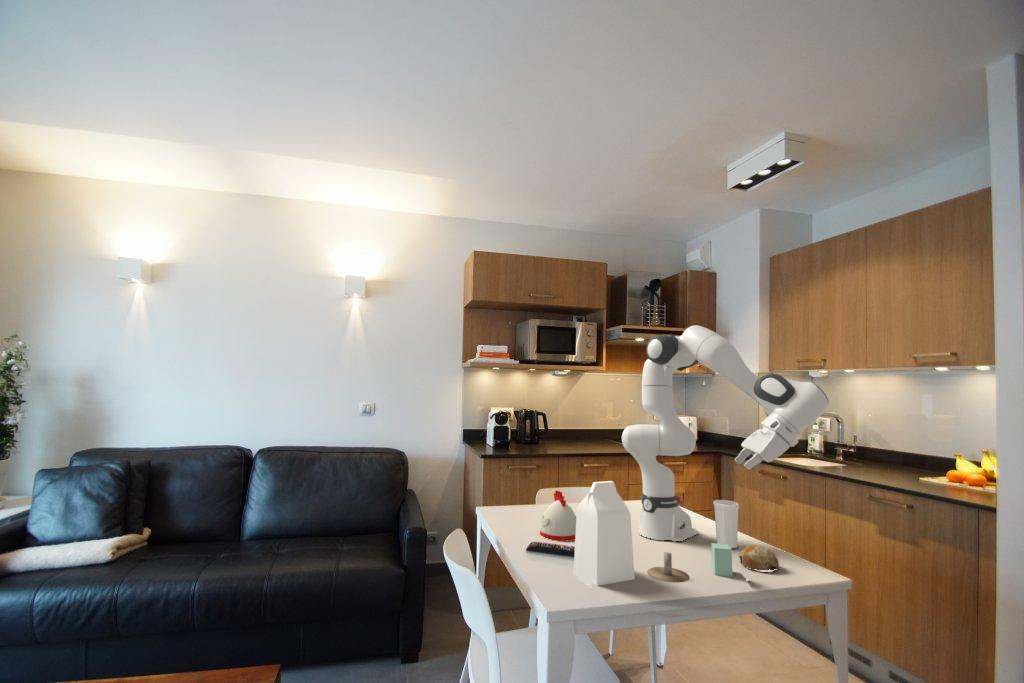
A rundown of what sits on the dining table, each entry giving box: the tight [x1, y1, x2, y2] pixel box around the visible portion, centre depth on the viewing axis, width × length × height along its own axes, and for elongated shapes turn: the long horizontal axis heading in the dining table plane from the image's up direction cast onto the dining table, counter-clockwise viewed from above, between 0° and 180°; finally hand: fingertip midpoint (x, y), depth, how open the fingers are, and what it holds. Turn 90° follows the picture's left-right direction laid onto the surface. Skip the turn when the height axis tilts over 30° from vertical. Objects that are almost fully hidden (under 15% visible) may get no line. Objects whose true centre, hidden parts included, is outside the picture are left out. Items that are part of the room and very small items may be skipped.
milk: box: [573, 480, 636, 589], centre depth 132 cm, size 12×12×26 cm
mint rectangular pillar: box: [710, 542, 733, 578], centre depth 134 cm, size 4×4×8 cm
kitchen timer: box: [539, 490, 577, 542], centre depth 172 cm, size 14×14×15 cm
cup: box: [712, 499, 740, 549], centre depth 162 cm, size 8×8×14 cm
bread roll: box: [737, 544, 780, 570], centre depth 143 cm, size 10×10×8 cm
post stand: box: [646, 551, 690, 584], centre depth 132 cm, size 11×11×7 cm
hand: (741, 464), depth 136 cm, fingers open, 8 cm apart
